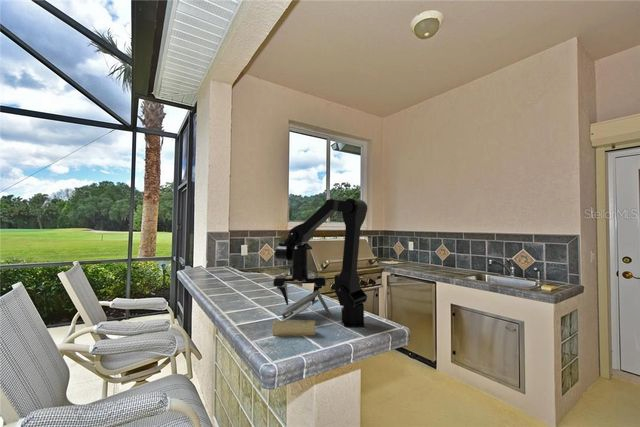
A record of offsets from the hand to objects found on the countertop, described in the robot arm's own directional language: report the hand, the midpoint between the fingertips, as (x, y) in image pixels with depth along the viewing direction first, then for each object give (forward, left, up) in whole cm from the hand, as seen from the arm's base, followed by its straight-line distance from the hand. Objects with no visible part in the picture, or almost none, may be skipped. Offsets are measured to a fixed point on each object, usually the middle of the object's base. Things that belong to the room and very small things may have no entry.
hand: (300, 304), depth 103 cm
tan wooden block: (0, +21, -2) cm, 22 cm away
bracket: (-3, +8, -3) cm, 10 cm away
